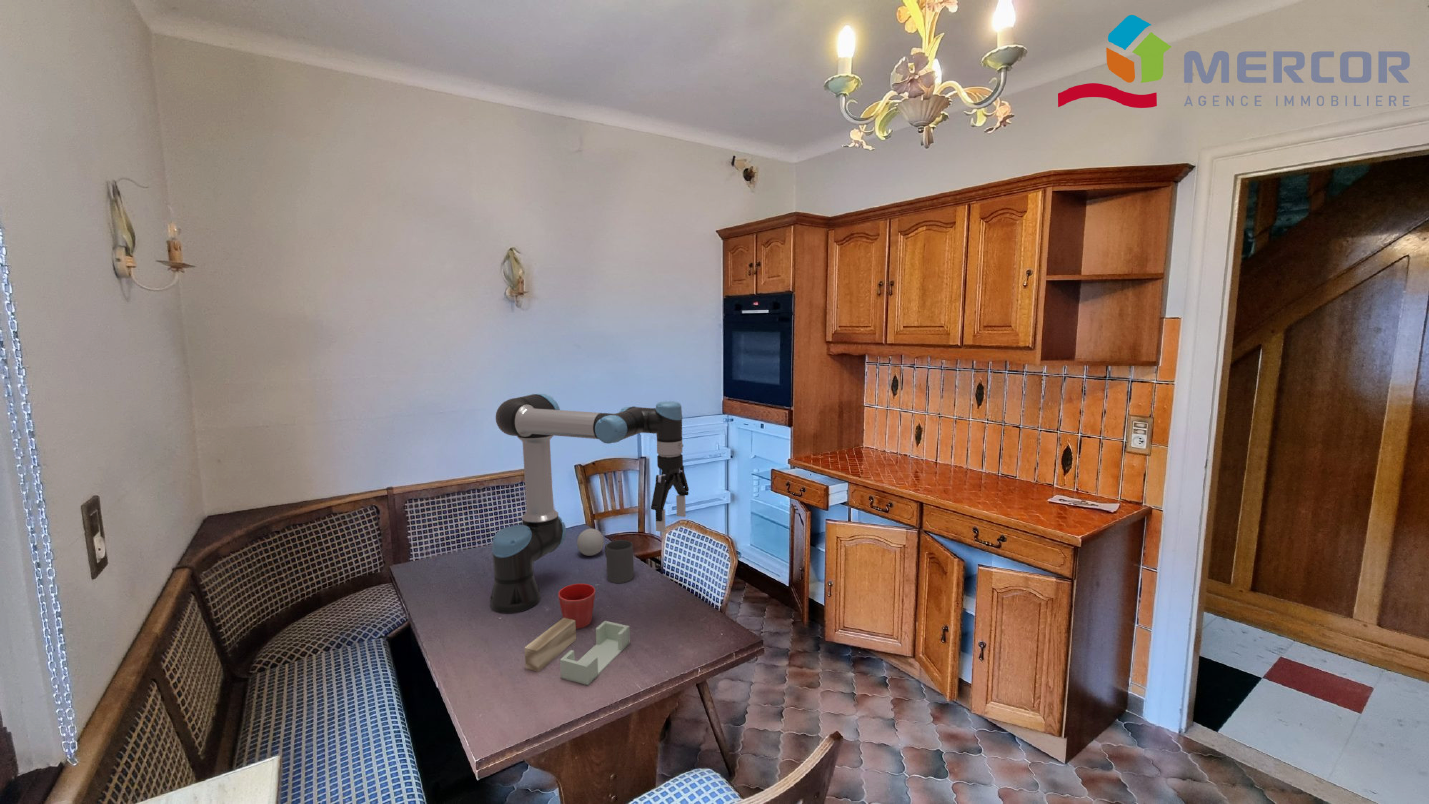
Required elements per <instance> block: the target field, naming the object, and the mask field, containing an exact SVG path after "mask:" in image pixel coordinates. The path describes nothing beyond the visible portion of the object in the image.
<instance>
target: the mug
mask: <svg viewBox="0 0 1429 804" xmlns="http://www.w3.org/2000/svg"><path fill="white" fill-rule="evenodd" d="M633 545H634V544H633V542H632V541H630V540H627V539H625V540H624V539H617V540H613V541H610V542H608V543H606V544H605V546H604V555H605V558H606V575H607V581H609V582H610V583H613V584H623V583H627V582H630V581H632V580H633V578H634V573H635V572H634V571H635V569H634V567H635V566H634V565H635V564H634V546H633Z"/></svg>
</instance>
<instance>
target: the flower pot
mask: <svg viewBox="0 0 1429 804" xmlns="http://www.w3.org/2000/svg"><path fill="white" fill-rule="evenodd" d="M557 595H558V600H559V601H558V602H559V606H560V611H561V615H562V618H567V619H572V620H575V624H576V630H577V629H583V628H586V627H588V625H590V624H591V622H592V619H593V611H594V606H595V604H594V603H595V599H596V588H595V587H594V586H593V585H591V584H589V583H574V584H573V583H572V584H570V585H567V586H564V587H562V588H561V589H560V590H559V591H558V594H557Z"/></svg>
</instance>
